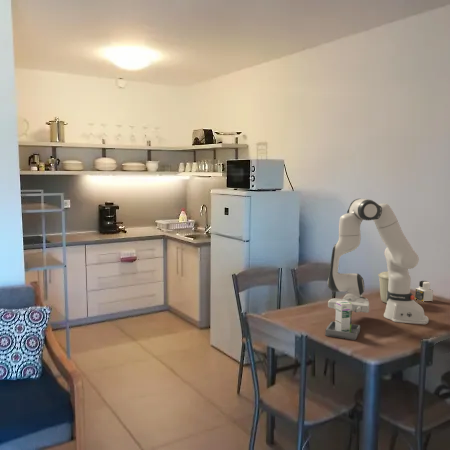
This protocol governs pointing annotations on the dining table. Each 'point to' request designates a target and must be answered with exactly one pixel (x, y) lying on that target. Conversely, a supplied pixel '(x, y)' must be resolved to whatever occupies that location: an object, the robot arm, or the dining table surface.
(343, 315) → the syrup box
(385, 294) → the canister
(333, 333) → the tray
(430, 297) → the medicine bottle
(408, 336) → the dining table surface
